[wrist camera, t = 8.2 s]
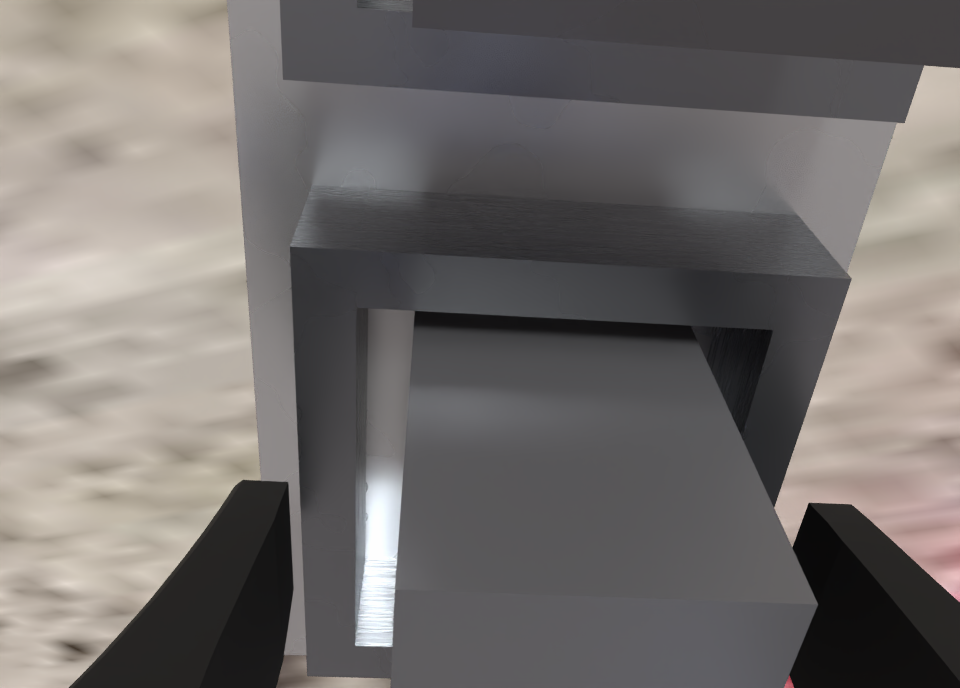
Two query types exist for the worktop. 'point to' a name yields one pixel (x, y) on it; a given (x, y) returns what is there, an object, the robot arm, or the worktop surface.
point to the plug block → (583, 515)
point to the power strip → (539, 219)
